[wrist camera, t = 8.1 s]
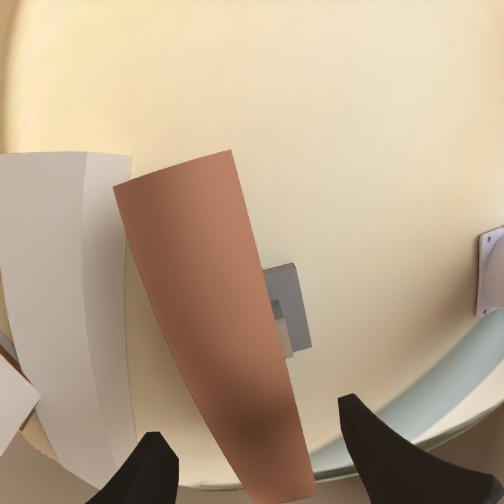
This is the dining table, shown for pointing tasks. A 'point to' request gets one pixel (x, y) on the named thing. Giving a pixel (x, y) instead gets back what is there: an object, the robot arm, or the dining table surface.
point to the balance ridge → (288, 308)
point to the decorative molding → (70, 301)
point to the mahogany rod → (219, 318)
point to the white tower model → (13, 394)
